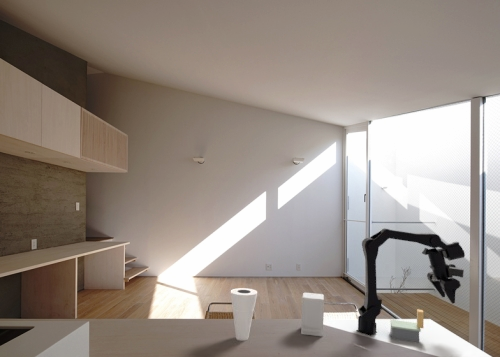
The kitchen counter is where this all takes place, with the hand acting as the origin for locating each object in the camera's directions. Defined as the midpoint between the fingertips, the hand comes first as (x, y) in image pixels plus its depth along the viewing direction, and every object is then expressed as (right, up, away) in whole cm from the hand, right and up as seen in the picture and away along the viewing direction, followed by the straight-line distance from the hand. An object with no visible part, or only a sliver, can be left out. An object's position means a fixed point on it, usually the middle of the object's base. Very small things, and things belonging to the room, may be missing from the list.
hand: (448, 300), depth 146 cm
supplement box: (-56, -14, +2) cm, 58 cm away
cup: (-86, -12, -8) cm, 87 cm away
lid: (-18, -11, -1) cm, 21 cm away
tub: (-19, -15, -1) cm, 24 cm away
